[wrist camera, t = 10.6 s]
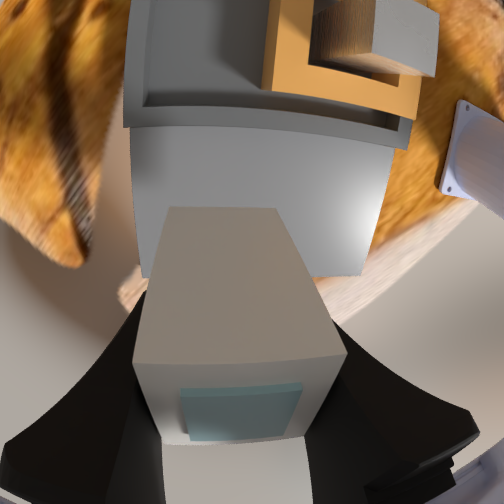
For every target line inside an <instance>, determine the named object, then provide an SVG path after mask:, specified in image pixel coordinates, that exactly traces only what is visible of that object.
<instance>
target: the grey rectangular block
mask: <svg viewBox="0 0 504 504" xmlns="http://www.w3.org/2000/svg"><path fill="white" fill-rule="evenodd" d="M438 36H439V14H438V13H436V12H434V11H433V10H431V9H429V8H427V7H425V6H423V5H422V4H420V3H418V2H416V1H414V0H341V1H339V2H337V3H335V4H334V5H332V6H330V7H328V8H326V9H324V10H322V11H321V12H319V13H317V14H315V15H314V16H313V26H312V35H311V44H310V53H309V61H308V62H313V63H318V64H322V65H327V66H331V67H336V68H340V69H344V70H348V71H352V72H356V73H387V74H403V75H415V76H425V77H434V78H435V71H436V61H437V50H438Z"/></svg>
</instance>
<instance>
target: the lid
mask: <svg viewBox="0 0 504 504" xmlns="http://www.w3.org/2000/svg"><path fill="white" fill-rule="evenodd" d="M394 152H395V148H394V147H390V146H385V145H380V144H375V143H370V142H365V141H359V140H354V139H348V138H341V137H335V136H328V135H321V134H314V133H306V132H297V131H288V130H277V129H265V128H251V127H233V126H196V125H182V126H145V127H130V155H131V176H132V192H133V204H134V215H135V225H136V235H137V243H138V251H139V258H140V266H141V272H142V278H150V274H151V270H152V266H153V263H154V259H155V255H156V251H157V247H158V244H159V240H160V236H161V233H162V229H163V226H164V222H165V219H166V215H167V212H168V209H169V207H254V208H276V210H277V211H278V213H279V215H280V217H281V219H282V221H283V223H284V225H285V227H286V229H287V230H288V232H289V234H290V236H291V238H292V240H293V242H294V244H295V246H296V248H297V250H298V252H299V254H300V256H301V258H302V260H303V262H304V264H305V266H306V268H307V270H308V272H309V274H310V276H311V277H334V276H360V275H361V272H362V269H363V266H364V263H365V260H366V257H367V254H368V251H369V248H370V244H371V241H372V238H373V234H374V231H375V228H376V224H377V221H378V217H379V213H380V210H381V206H382V202H383V198H384V195H385V191H386V187H387V183H388V178H389V174H390V170H391V165H392V161H393V156H394Z"/></svg>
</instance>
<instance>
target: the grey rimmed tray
mask: <svg viewBox="0 0 504 504" xmlns="http://www.w3.org/2000/svg"><path fill="white" fill-rule="evenodd" d="M339 1H341V0H131V6H130V14H129V22H128V31H127V41H126V54H125V69H124V96H123V127H124V128H128V127H145V126H182V125H196V126H233V127H251V128H265V129H277V130H288V131H297V132H306V133H314V134H321V135H328V136H335V137H341V138H348V139H354V140H359V141H365V142H370V143H375V144H380V145H385V146H390V147H394V148H399V149H403V150H407V148H408V143H409V138H410V133H411V128H412V123H413V120H416V114H417V108H418V102H419V95H420V88H421V80H422V76H415V75H403V74H387V73H356V72H352V71H348V70H344V69H340V68H336V67H331V66H327V65H322V64H318V63H313V62H308V61H309V53H310V44H311V35H312V26H313V16H314V15H315V14H317V13H319V12H321V11H322V10H324V9H326V8H328V7H330V6H332V5H334V4H335V3H337V2H339ZM414 1H416V2H418V3H420V4H422V5H423V6H425V7H427V0H414Z"/></svg>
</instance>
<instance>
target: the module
mask: <svg viewBox="0 0 504 504" xmlns="http://www.w3.org/2000/svg"><path fill="white" fill-rule="evenodd" d="M347 354H348V353H347V351H346V349H345V346H344V344H343V342H342V340H341V338H340V336H339V334H338V331H337V329H336V327H335V325H334V323H333V321H332V319H331V317H330V315H329V312H328V310H327V308H326V306H325V304H324V302H323V300H322V298H321V296H320V294H319V292H318V290H317V288H316V286H315V284H314V282H313V280H312V278H311V276H310V274H309V272H308V270H307V268H306V266H305V264H304V262H303V260H302V258H301V256H300V254H299V252H298V250H297V248H296V246H295V244H294V242H293V240H292V238H291V236H290V234H289V232H288V230H287V229H286V227H285V225H284V223H283V221H282V219H281V217H280V215H279V213H278V211H277V210H276V208H254V207H169V209H168V212H167V215H166V219H165V222H164V226H163V229H162V233H161V236H160V240H159V244H158V247H157V251H156V255H155V259H154V263H153V266H152V270H151V274H150V279H149V283H148V287H147V291H146V296H145V300H144V305H143V309H142V314H141V319H140V323H139V328H138V333H137V339H136V344H135V349H134V355H133V361H132V364H133V367H134V370H135V372H136V375H137V378H138V381H139V384H140V386H141V389H142V392H143V394H144V397H145V400H146V402H147V405H148V407H149V410H150V412H151V414H152V417H153V419H154V422H155V424H156V426H157V429H158V431H159V433H160V435H161V438H162V440H163V442H164V444H170V445H173V444H174V445H222V444H239V443H253V442H263V441H273V440H281V439H288V438H294V437H301V436H304V435H305V433H306V431H307V430H308V428H309V426H310V425H311V423H312V421H313V419H314V418H315V416H316V414H317V412H318V411H319V409H320V407H321V405H322V403H323V401H324V400H325V398H326V396H327V394H328V392H329V390H330V388H331V386H332V384H333V382H334V380H335V378H336V376H337V374H338V372H339V370H340V368H341V366H342V364H343V362H344V360H345V358H346V356H347Z"/></svg>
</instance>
